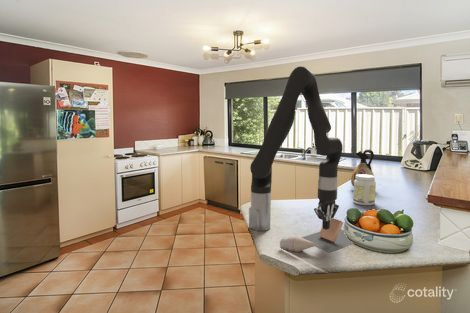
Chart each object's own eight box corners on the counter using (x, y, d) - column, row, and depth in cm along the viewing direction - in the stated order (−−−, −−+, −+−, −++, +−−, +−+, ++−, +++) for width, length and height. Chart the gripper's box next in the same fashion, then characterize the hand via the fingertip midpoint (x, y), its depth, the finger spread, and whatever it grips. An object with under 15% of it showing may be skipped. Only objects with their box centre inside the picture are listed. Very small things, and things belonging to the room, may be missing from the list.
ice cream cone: (319, 256, 107) (281, 254, 115) (321, 241, 111) (284, 240, 119) (315, 248, 104) (276, 246, 111) (317, 232, 108) (279, 232, 115)
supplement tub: (370, 200, 183) (372, 174, 181) (377, 206, 171) (379, 177, 169) (350, 200, 184) (351, 173, 182) (356, 205, 172) (357, 177, 170)
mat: (329, 254, 110) (329, 252, 109) (298, 239, 123) (298, 238, 123) (366, 239, 123) (366, 238, 123) (334, 228, 136) (334, 227, 136)
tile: (332, 241, 117) (341, 220, 119) (318, 235, 123) (327, 216, 125) (334, 243, 118) (343, 223, 120) (321, 237, 124) (329, 218, 126)
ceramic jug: (348, 191, 207) (350, 149, 203) (353, 187, 219) (355, 147, 216) (374, 195, 197) (377, 150, 193) (378, 190, 210) (380, 149, 206)
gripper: (324, 191, 111) (322, 235, 113) (345, 187, 118) (344, 228, 120) (308, 187, 117) (307, 229, 119) (330, 183, 124) (329, 223, 126)
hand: (325, 228), depth 119 cm, fingers closed
